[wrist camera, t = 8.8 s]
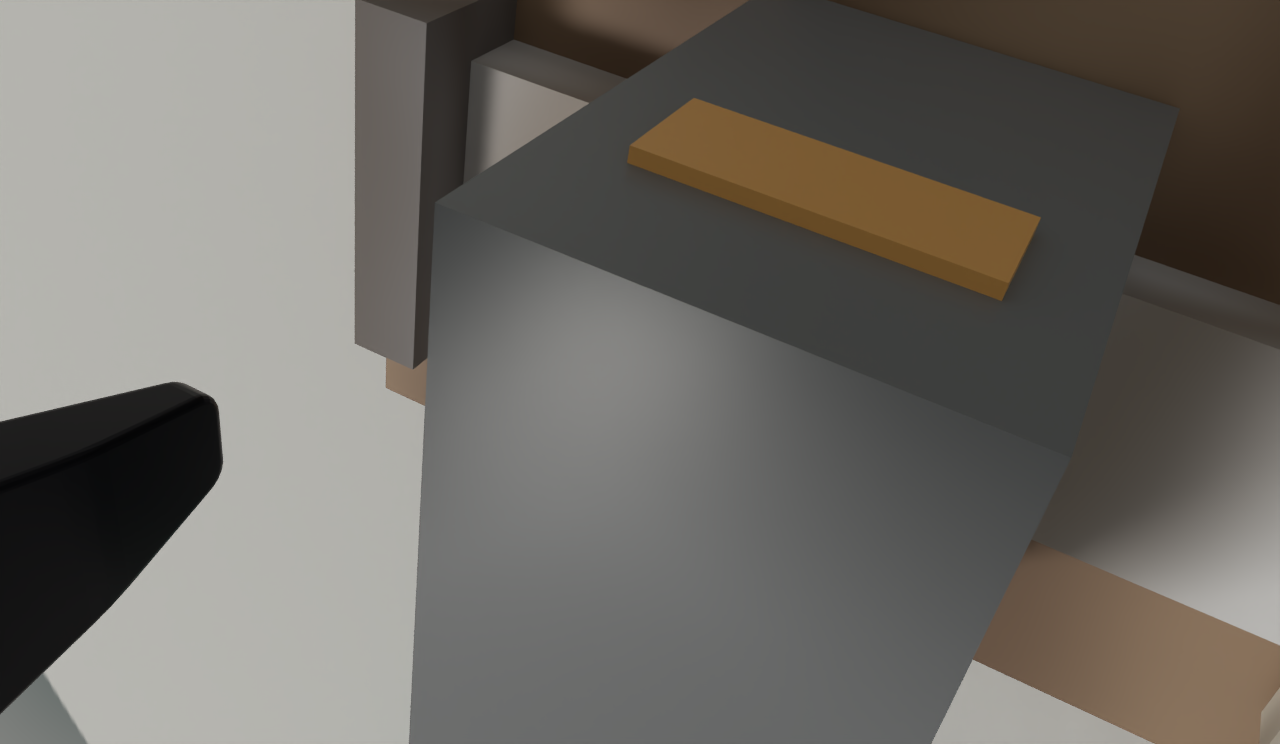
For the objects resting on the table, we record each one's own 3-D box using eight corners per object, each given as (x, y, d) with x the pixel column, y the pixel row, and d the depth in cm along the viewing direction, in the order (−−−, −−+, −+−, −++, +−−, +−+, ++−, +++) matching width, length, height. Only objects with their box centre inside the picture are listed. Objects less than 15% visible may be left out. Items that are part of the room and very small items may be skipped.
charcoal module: (1186, 94, 12) (1080, 437, 7) (964, 580, 16) (799, 1011, 11) (776, -29, 13) (435, 183, 8) (673, 450, 17) (406, 785, 12)
